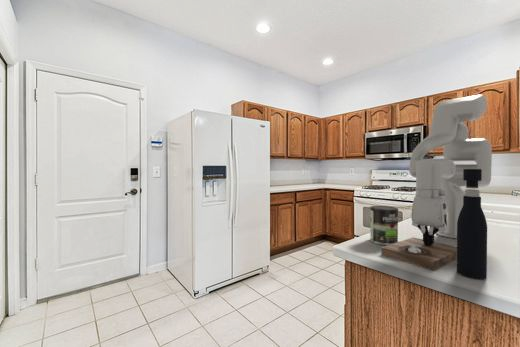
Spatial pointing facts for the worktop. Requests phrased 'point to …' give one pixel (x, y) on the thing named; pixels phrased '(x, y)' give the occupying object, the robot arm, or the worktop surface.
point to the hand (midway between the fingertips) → (428, 244)
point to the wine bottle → (472, 230)
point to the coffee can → (384, 225)
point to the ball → (414, 250)
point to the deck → (428, 258)
